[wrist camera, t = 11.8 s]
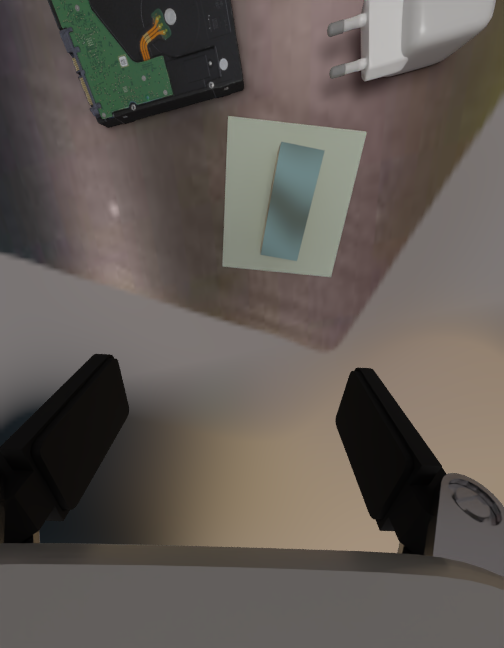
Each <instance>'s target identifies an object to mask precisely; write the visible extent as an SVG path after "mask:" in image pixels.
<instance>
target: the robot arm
mask: <svg viewBox="0 0 504 648" xmlns="http://www.w3.org/2000/svg"><path fill="white" fill-rule="evenodd" d="M128 414H129V405H128V401H127V397H126V393H125V388H124V384H123V380H122V376H121V371H120V367H119V363H118V360H117V359H114V357H113V356H112V355H107V354H94V355H93V356H92V357H91V358H90V359H89V360H88V361H87V362H86V363H85V364H84V365H83V366H82V367H81V368H80V369H79V370H78V371H77V372H76V373H75V374H74V375H73V376H72V377H71V378H70V379H69V380H68V381H67V382H66V383H65V384H63V386H61V387H60V389H59V390H57V391H56V392H55V393H54V395H52V396H51V398H49V399H48V400H47V401H46V402H45V403H44V404H43V405H42V406H41V407H40V408H39V409H38V410H37V411H36V412H35V413H34V414H33V415H32V416H31V417H30V418H29V419H28V420H27V421H26V422H25V423H24V424H23V425H22V426H21V427H20V428H19V429H18V430H17V431H16V432H15V433H14V434H13V435H12V436H11V437H10V438H9V439H8V440H7V441H6V442H5V443H4V444H3V445H2V446H1V447H0V648H504V507H503V505H502V504H501V502H500V501H499V500H498V499H497V498H496V497H495V496H494V495H493V494H492V493H491V492H490V491H489V490H488V489H486V488H485V487H484V486H483V485H481V484H480V483H478V482H476V481H475V480H473V479H471V478H469V477H467V476H465V475H461V474H457V473H450V474H446V473H445V471H444V470H443V468H442V465H441V464H440V463H439V461H438V460H437V458H436V457H435V456H434V454H433V453H432V451H431V450H430V448H429V447H428V446H427V444H426V443H425V441H424V440H423V439H422V437H421V436H420V434H419V433H418V432H417V430H416V429H415V428H414V426H413V425H412V423H411V422H410V420H409V419H408V418H407V417H406V415H405V413H404V412H403V411H402V409H401V408H400V406H399V405H398V404H397V402H396V401H395V399H394V398H393V397H392V395H391V394H390V393H389V391H388V390H387V388H386V387H385V386H384V384H383V383H382V381H381V380H380V378H379V377H378V376H377V374H376V373H375V372H374V370H373V369H371V368H356V369H355V371H351V373H350V375H349V378H348V381H347V384H346V388H345V391H344V394H343V397H342V400H341V403H340V406H339V410H338V412H337V415H336V426H337V429H338V432H339V434H340V437H341V440H342V442H343V445H344V448H345V450H346V453H347V456H348V458H349V461H350V464H351V467H352V469H353V472H354V475H355V477H356V480H357V483H358V485H359V488H360V491H361V493H362V496H363V499H364V501H365V504H366V507H367V509H368V512H369V514H370V516H371V517H372V518H373V519H376V522H377V524H378V527H379V530H380V531H395V533H396V535H397V537H398V540H399V541H400V543H399V548H398V552H397V553H382V552H362V551H334V550H306V549H305V550H304V549H276V548H241V547H204V546H167V545H122V544H121V545H120V544H77V543H76V544H75V543H74V544H73V543H40V536H39V530H40V528H41V526H42V525H43V524H44V522H45V520H47V521H64V519H65V517H66V515H67V514H68V512H69V511H70V510H71V509H73V508H75V507H76V506H77V504H78V503H79V501H80V499H81V497H82V496H83V494H84V492H85V490H86V489H87V487H88V485H89V483H90V482H91V480H92V478H93V476H94V475H95V473H96V471H97V469H98V468H99V466H100V464H101V462H102V461H103V459H104V457H105V455H106V454H107V452H108V450H109V448H110V447H111V444H112V443H113V441H114V439H115V438H116V436H117V434H118V432H119V431H120V429H121V427H122V425H123V424H124V422H125V420H126V418H127V416H128Z"/></svg>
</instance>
